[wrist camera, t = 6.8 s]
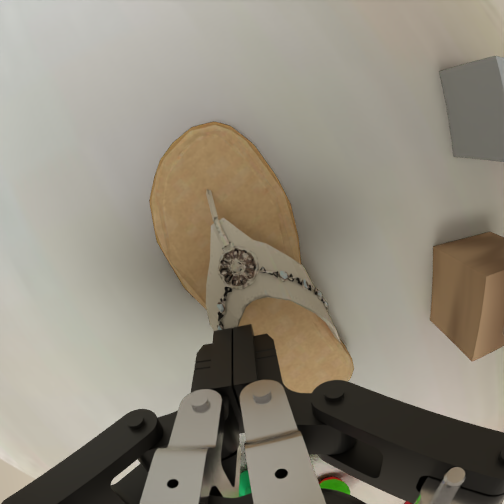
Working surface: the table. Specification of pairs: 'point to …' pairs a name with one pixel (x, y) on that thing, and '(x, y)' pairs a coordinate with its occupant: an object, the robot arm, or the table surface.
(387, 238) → the table surface
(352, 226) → the table surface
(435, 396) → the table surface
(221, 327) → the sandal
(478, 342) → the walnut block
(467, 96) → the slate block
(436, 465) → the robot arm
